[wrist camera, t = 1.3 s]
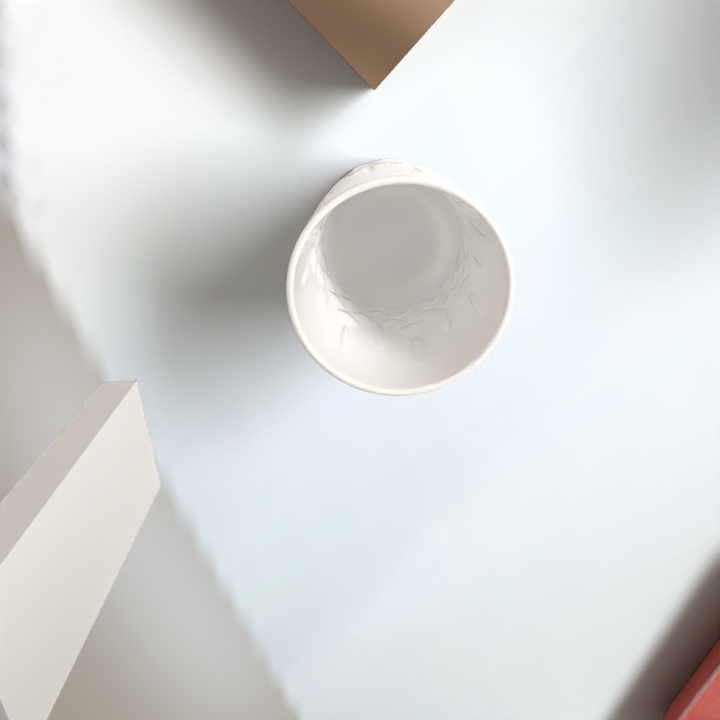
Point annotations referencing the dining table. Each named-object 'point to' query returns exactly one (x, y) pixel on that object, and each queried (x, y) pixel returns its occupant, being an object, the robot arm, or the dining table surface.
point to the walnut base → (372, 30)
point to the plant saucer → (700, 692)
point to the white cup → (399, 280)
